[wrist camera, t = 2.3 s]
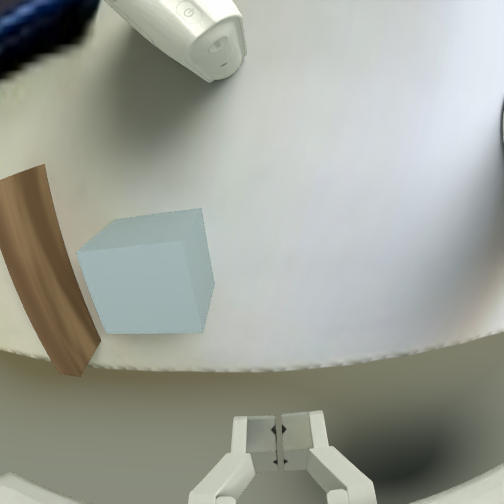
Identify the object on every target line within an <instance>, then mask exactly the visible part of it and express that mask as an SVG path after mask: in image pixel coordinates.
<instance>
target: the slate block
mask: <svg viewBox="0 0 504 504" xmlns="http://www.w3.org/2000/svg"><path fill="white" fill-rule="evenodd" d="M76 255H77V258H78V261H79V264H80V267H81V270H82V273H83V276H84V278H85V281H86V284H87V287H88V290H89V292H90V295H91V298H92V300H93V303H94V305H95V308H96V310H97V313H98V315H99V318H100V320H101V323H102V325H103V327H104V330H105V332H106V334H173V333H203V331H204V326H205V322H206V318H207V314H208V309H209V305H210V301H211V297H212V292H213V288H214V284H215V283H214V278H213V272H212V267H211V261H210V256H209V250H208V244H207V239H206V233H205V227H204V221H203V215H202V209H201V208H199V209H191V210H183V211H175V212H167V213H159V214H152V215H144V216H137V217H130V218H123V219H117V220H114V221H112V222H111V223H110V224H109V225H108V226H106V227H105V228H104V229H103V230H102V231H100V232H99V233H98V234H97V235H96V236H94V237H93V238H92V239H91V240H90V241H89V242H87V243H86V244H85V245H84V246H83V247H82V248H80V249H79V250H78V251H77V252H76Z"/></svg>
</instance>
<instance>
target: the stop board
mask: <svg viewBox="0 0 504 504" xmlns="http://www.w3.org/2000/svg"><path fill="white" fill-rule="evenodd" d="M0 249H1V251H2V254H3V257H4V260H5V263H6V265H7V268H8V271H9V273H10V276H11V279H12V281H13V283H14V286H15V288H16V291H17V293H18V295H19V298H20V300H21V302H22V304H23V307H24V309H25V311H26V313H27V315H28V317H29V319H30V321H31V323H32V325H33V327H34V329H35V331H36V333H37V335H38V337H39V339H40V341H41V343H42V345H43V347H44V348H45V350H46V352H47V354H48V356H49V357H50V359H51V361H52V362H53V364H54V366H55V368H56V369H57V371H58V372H59V374H64V375H71V376H79V377H80V376H81V375H82V373H83V371H84V369H85V367H86V366H87V364H88V362H89V360H90V359H91V357H92V355H93V353H94V352H95V350H96V348H97V347H98V345H99V343H100V341H101V339H100V337H99V335H98V333H97V330H96V328H95V326H94V323H93V321H92V319H91V316H90V314H89V312H88V309H87V307H86V304H85V302H84V299H83V296H82V294H81V291H80V289H79V286H78V283H77V281H76V278H75V275H74V272H73V269H72V266H71V263H70V260H69V257H68V254H67V251H66V248H65V245H64V241H63V238H62V235H61V231H60V228H59V224H58V221H57V217H56V213H55V209H54V205H53V201H52V197H51V193H50V189H49V184H48V179H47V175H46V170H45V164H43V165H40V166H37V167H34V168H31V169H28V170H26V171H23V172H20V173H17V174H15V175H12V176H9V177H7V178H4V179H2V180H0Z"/></svg>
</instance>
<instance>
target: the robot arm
mask: <svg viewBox="0 0 504 504" xmlns="http://www.w3.org/2000/svg"><path fill="white" fill-rule="evenodd" d="M503 141H504V113H503ZM281 416H282V436H283V453H284V469H285V471H292V470H306V469H307V471H308V472H309V473H310V474H311V476H312V477H313V478H314V479H315V480H316V482H317V483H318V484H319V485H320V486H321V487H322V488H323V489H324V491H325V492H326V493H327V495H326V498H325V502H324V504H377V501H376V496H375V491H374V487H373V482H372V481H371V480H369V479H368V478H367V477H366V476H365V475H364V474H363V473H362V472H360V471H359V470H358V469H357V468H356V467H355V466H354V465H353V464H352V463H351V462H349V461H348V460H347V459H346V458H345V457H344V456H343V455H342V454H341V453H340V452H339V451H338V450H337V449H335V448H334V447H333V446H329V445H328V439H327V433H326V427H325V421H324V415H323V412H322V410H318V411H311V412H299V413H290V414H281ZM276 448H277V436H276V424H275V415H267V416H234V418H233V425H232V438H231V450H230V453H226V454H225V455H224V456H223V457H222V459H221V460H220V461H219V462H218V463H217V464H216V465H215V467H214V468H213V469H212V470H211V471H210V472H209V473H208V474H207V475H206V476H205V478H204V479H203V480H202V481H201V482H200V483H199V484H198V485H197V486H196V487H195V488H194V489H193V490H192V491H191V492H190V494H189V500H188V504H237V502H236V501H237V499H238V498H239V497H240V495H241V494H242V493H243V491H244V490H245V488H246V487H247V486H248V484H249V483H250V481H251V480H252V478H253V477H254V476H255V473H262V472H277V471H278V461H277V449H276ZM0 504H91V503H88V502H85V501H82V500H79V499H76V498H73V497H71V496H68V495H65V494H62V493H60V492H57V491H55V490H52V489H50V488H47V487H45V486H43V485H40V484H38V483H36V482H34V481H31V480H29V479H27V478H25V477H23V476H21V475H19V474H17V473H14V472H7V473H5V474H2V475H0ZM409 504H504V463H503V464H501V465H499V466H497V467H495V468H493V469H492V470H490V471H488V472H486V473H484V474H482V475H480V476H478V477H476V478H473V479H471V480H469V481H467V482H465V483H462V484H460V485H458V486H456V487H453V488H451V489H448V490H446V491H443V492H441V493H438V494H436V495H433V496H430V497H428V498H425V499H422V500H418V501H415V502H413V503H409Z"/></svg>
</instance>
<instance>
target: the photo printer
mask: <svg viewBox="0 0 504 504" xmlns="http://www.w3.org/2000/svg"><path fill="white" fill-rule="evenodd" d="M104 1H105V2H106V3H107V4H108V5H109V6H110V7H112V8H113V9H114V10H115V11H116V12H117V13H118V14H119V15H120V16H121V17H122V18H123V19H125V20H126V21H127V22H128V23H129V24H130V25H131V26H132V27H133V28H135V29H136V30H137V31H138V32H139V33H140V34H141V35H142V36H144V37H145V38H146V39H147V40H148V41H150V42H151V43H152V44H153V45H154V46H155V47H158V48H159V49H160V50H161V51H163V52H164V53H165V54H167V55H168V56H170V57H171V58H173V59H174V60H176V61H177V62H179V63H180V64H182V65H183V66H185V67H186V68H188V69H189V70H191V71H192V72H194V73H195V74H196V75H198V76H199V77H200V78H202V79H203V80H205V81H207V82H209V83H211V82H212V81H213V80H220V79H224V78H227V77H229V76H231V75H232V74H233V73H235V72H236V71H237V69H238V68H239V67H240V65H241V62H242V58H243V57H244V56H246V54H247V48H246V40H245V31H244V25H243V19H242V16H241V14H240V12H239V10H238V9H237V7H236V5H235V4H234V3H233V1H232V0H104Z"/></svg>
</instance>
